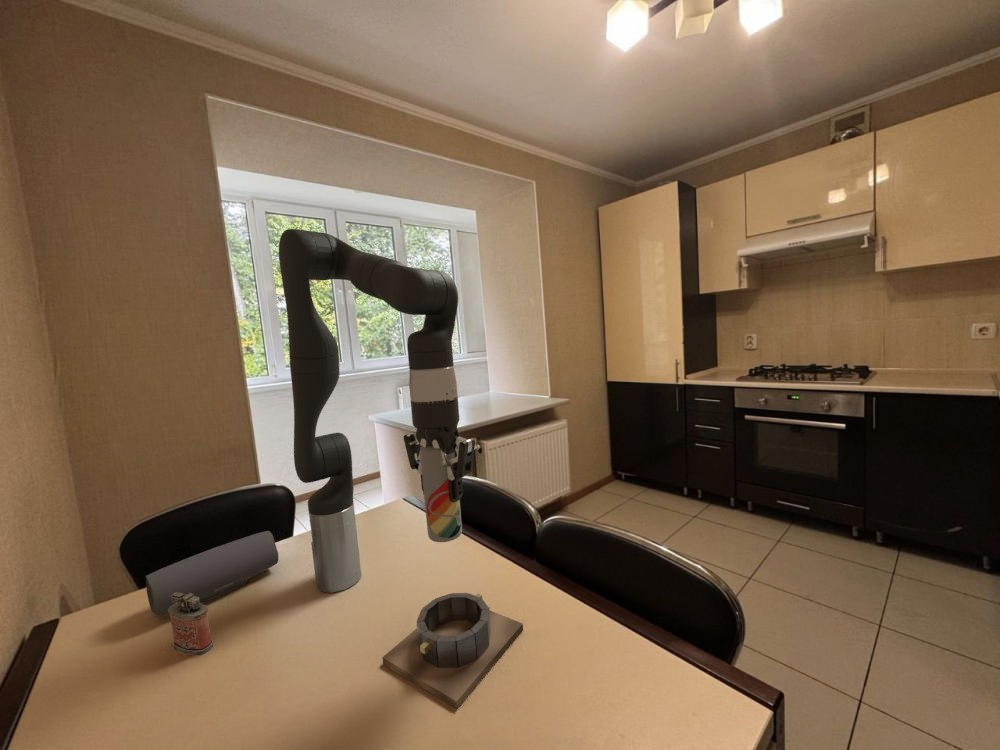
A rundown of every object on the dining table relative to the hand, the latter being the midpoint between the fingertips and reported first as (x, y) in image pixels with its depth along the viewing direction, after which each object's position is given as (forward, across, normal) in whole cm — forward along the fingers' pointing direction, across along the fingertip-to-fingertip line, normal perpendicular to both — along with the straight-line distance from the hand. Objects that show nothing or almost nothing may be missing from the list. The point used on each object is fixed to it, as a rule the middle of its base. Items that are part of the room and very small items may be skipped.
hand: (442, 497), depth 68 cm
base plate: (+26, 0, 0) cm, 26 cm away
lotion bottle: (+7, 0, 0) cm, 7 cm away
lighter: (+27, -42, -24) cm, 55 cm away
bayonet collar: (+25, 0, 0) cm, 25 cm away
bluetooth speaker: (+27, -57, -14) cm, 64 cm away
